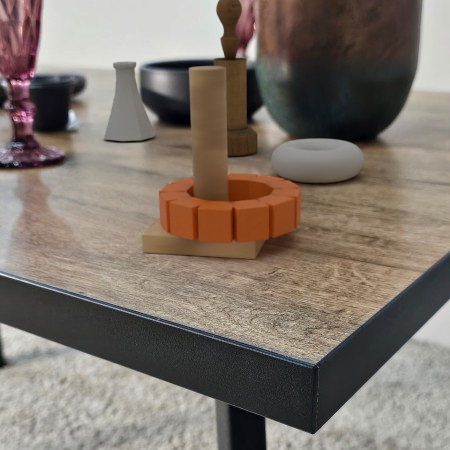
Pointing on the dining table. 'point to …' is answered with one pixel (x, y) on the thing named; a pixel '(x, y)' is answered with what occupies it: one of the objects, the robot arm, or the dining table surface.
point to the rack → (205, 168)
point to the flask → (127, 108)
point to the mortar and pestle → (235, 82)
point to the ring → (232, 210)
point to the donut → (317, 160)
